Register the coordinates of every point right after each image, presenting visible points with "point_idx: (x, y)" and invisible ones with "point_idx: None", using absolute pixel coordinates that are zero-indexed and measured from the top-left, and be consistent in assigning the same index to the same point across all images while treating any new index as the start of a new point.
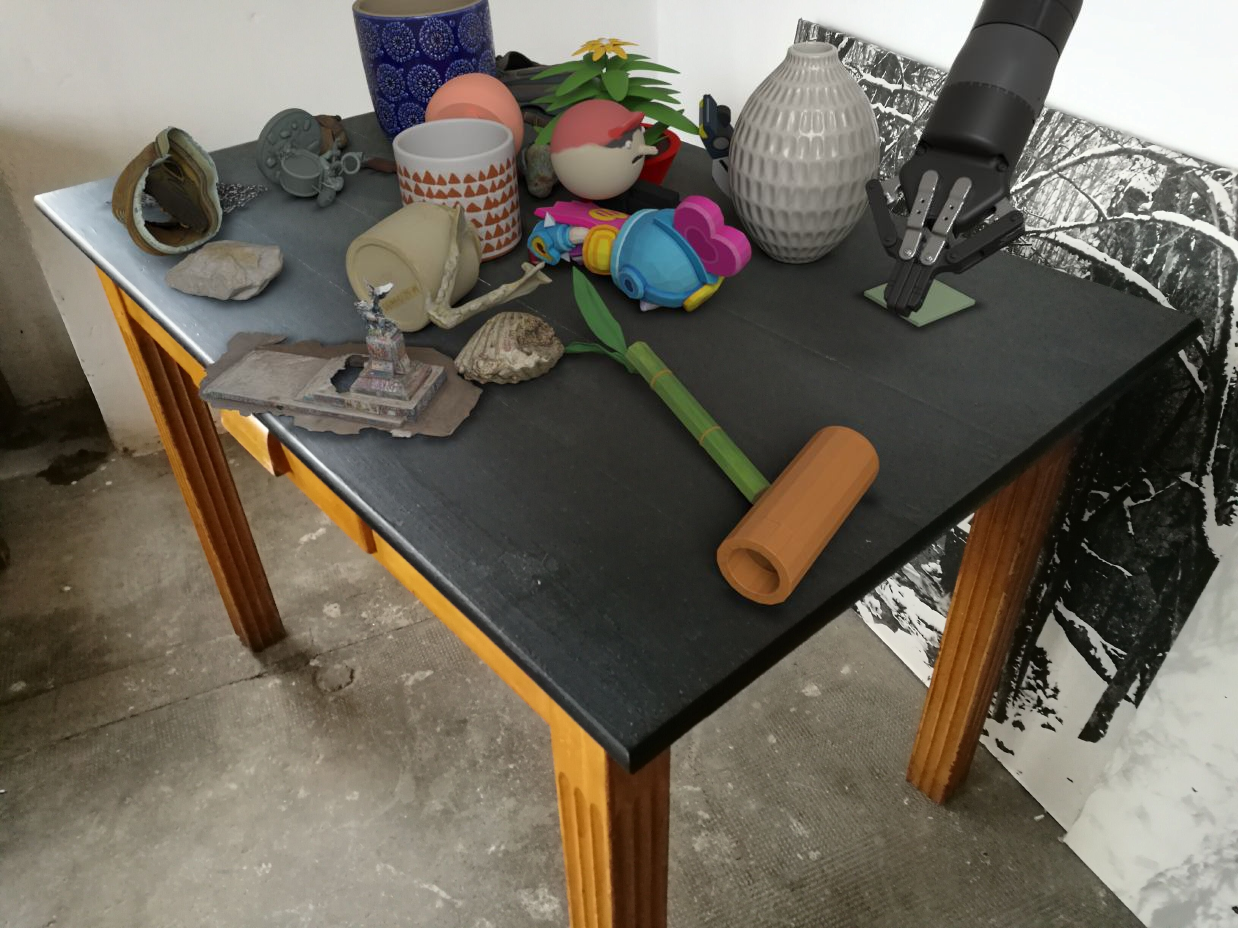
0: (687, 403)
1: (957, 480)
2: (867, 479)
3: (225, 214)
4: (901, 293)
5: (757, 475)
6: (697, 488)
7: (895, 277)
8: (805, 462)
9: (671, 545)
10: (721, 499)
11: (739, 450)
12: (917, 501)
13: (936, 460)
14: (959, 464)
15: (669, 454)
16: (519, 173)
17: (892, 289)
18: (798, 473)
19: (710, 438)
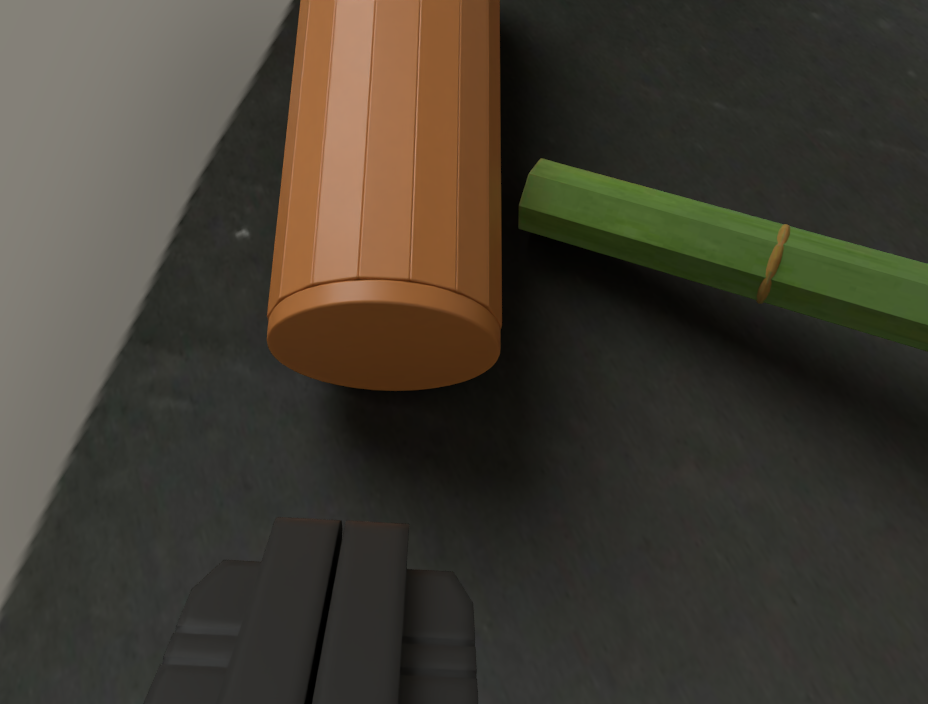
0: (916, 276)
1: (69, 589)
2: (274, 253)
3: None
4: (327, 576)
5: (569, 195)
6: None
7: (432, 700)
8: (434, 109)
9: (627, 35)
10: None
11: (666, 244)
12: (163, 432)
13: (154, 656)
14: (77, 677)
15: None
16: None
17: (405, 580)
18: (428, 56)
19: (759, 223)
